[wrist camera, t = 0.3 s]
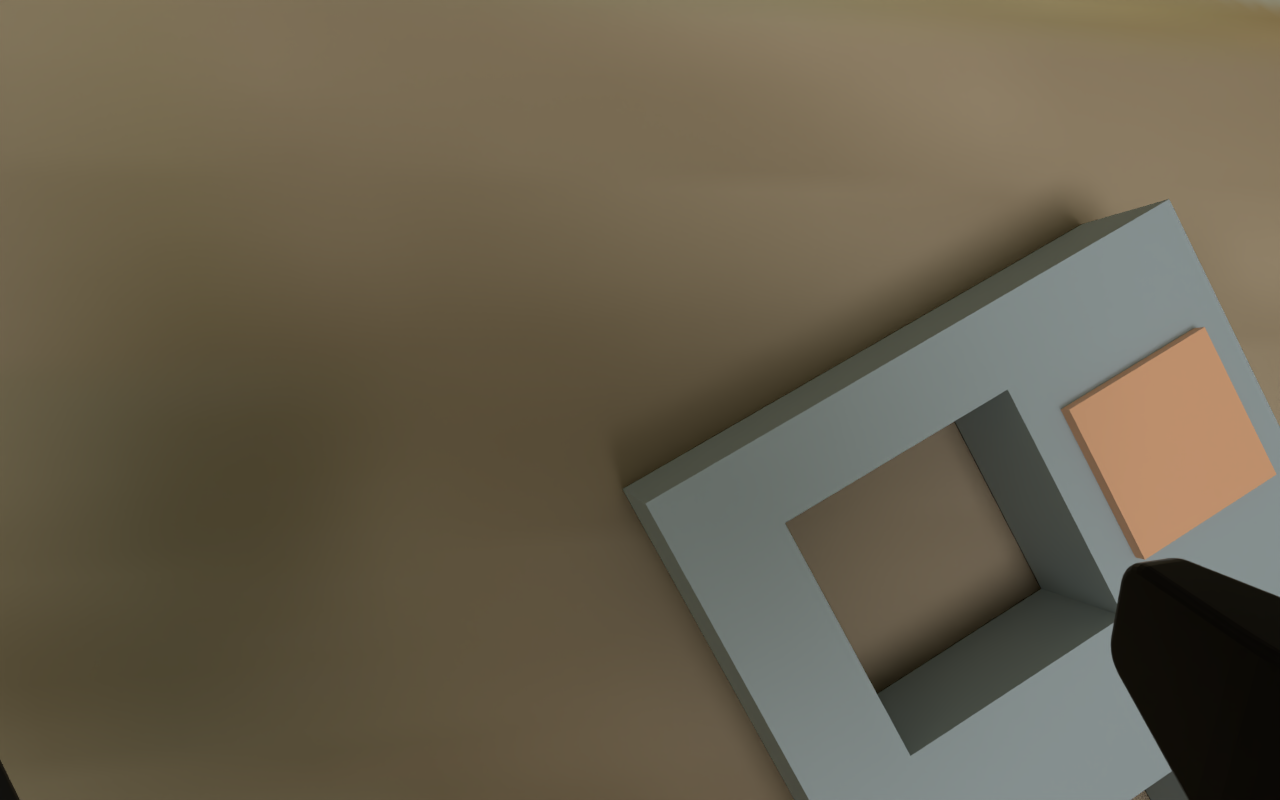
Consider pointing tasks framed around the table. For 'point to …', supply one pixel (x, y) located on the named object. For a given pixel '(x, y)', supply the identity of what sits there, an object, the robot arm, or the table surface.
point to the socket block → (1030, 501)
